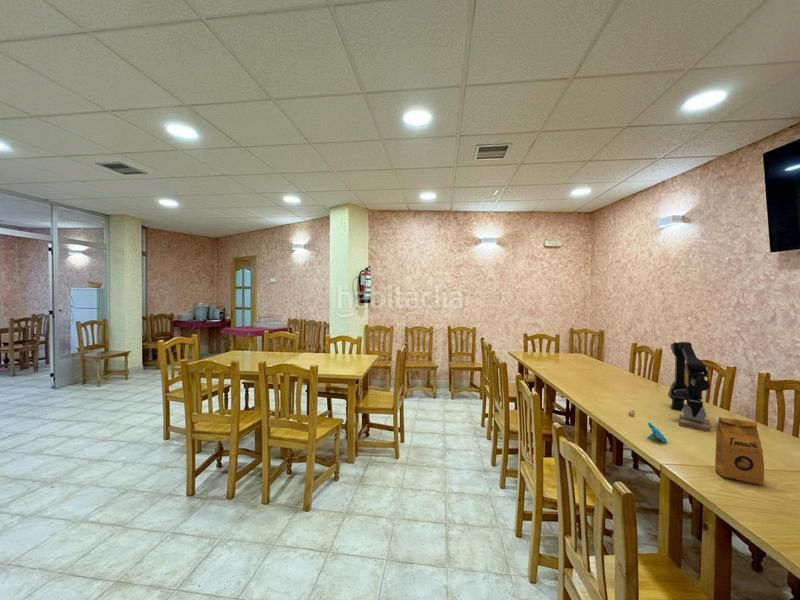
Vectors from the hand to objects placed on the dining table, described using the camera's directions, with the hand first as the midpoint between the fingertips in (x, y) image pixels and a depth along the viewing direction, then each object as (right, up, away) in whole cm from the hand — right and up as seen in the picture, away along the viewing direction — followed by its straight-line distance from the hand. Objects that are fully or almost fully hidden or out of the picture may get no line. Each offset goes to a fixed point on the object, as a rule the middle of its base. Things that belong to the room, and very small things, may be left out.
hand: (694, 415), depth 177 cm
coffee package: (-27, -6, -50) cm, 58 cm away
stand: (0, -5, 0) cm, 5 cm away
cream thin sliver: (+11, -5, -4) cm, 13 cm away
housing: (0, -2, 0) cm, 2 cm away
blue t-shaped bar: (-33, -6, -18) cm, 38 cm away
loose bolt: (-22, -5, +15) cm, 27 cm away
